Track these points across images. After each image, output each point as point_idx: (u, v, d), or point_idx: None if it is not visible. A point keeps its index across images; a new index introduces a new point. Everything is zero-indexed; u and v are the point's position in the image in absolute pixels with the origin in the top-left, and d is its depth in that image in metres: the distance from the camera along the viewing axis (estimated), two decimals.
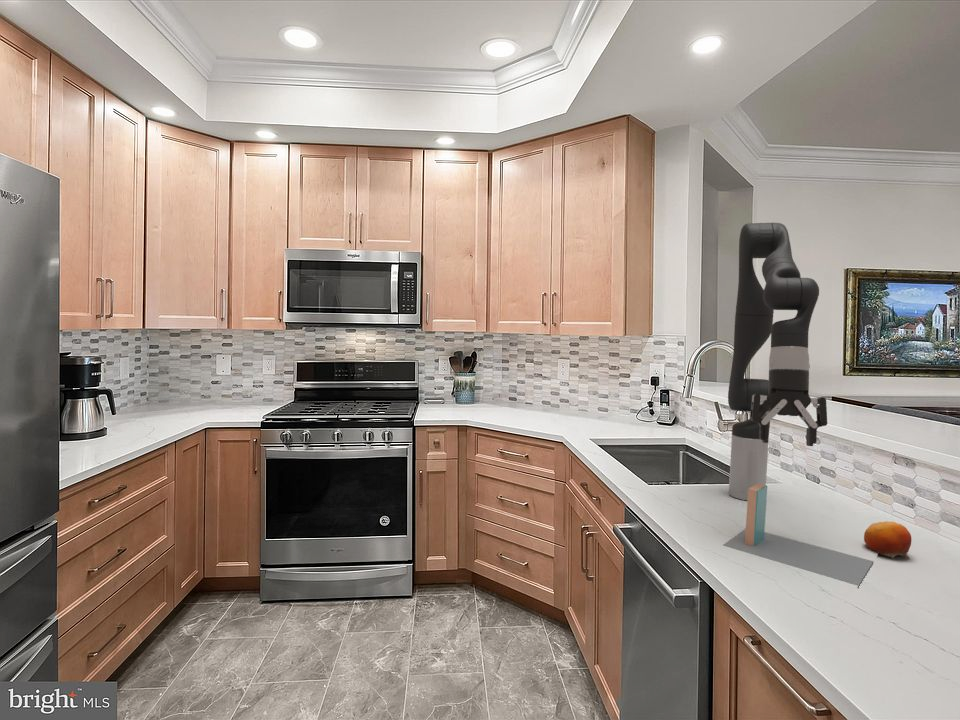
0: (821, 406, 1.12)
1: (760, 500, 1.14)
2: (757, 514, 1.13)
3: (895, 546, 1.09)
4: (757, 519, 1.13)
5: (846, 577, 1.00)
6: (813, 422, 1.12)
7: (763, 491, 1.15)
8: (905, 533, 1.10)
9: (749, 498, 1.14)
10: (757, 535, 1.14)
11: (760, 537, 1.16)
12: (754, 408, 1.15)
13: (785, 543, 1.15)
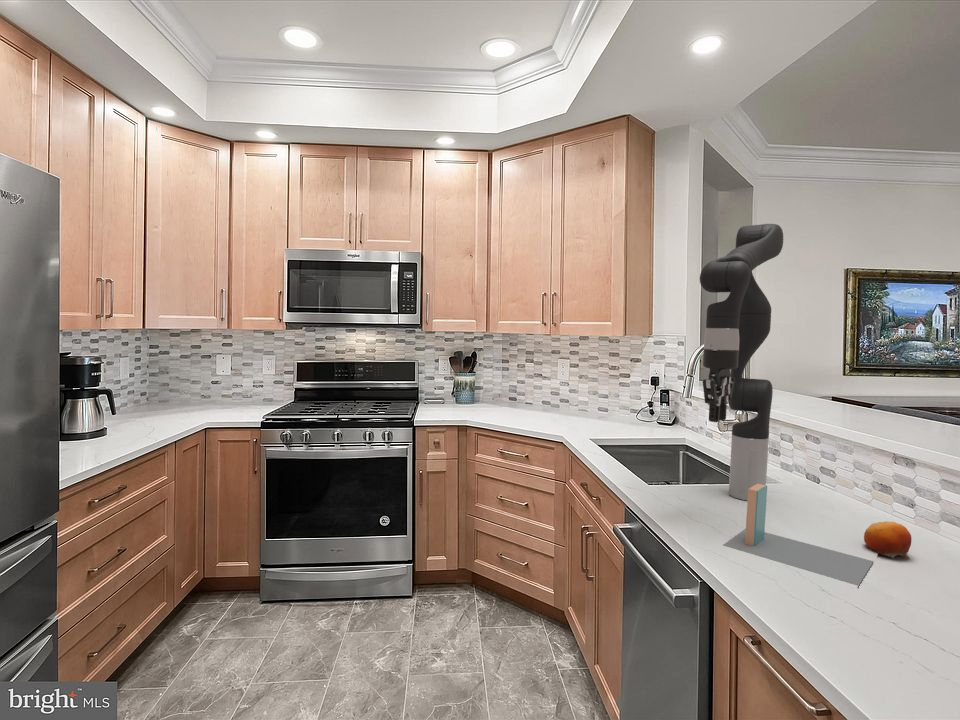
0: (732, 384, 1.28)
1: (760, 500, 1.14)
2: (757, 514, 1.13)
3: (895, 546, 1.09)
4: (757, 519, 1.13)
5: (846, 577, 1.00)
6: (727, 399, 1.26)
7: (763, 491, 1.15)
8: (905, 533, 1.10)
9: (749, 498, 1.14)
10: (757, 535, 1.14)
11: (760, 537, 1.16)
12: (715, 393, 1.20)
13: (785, 543, 1.15)
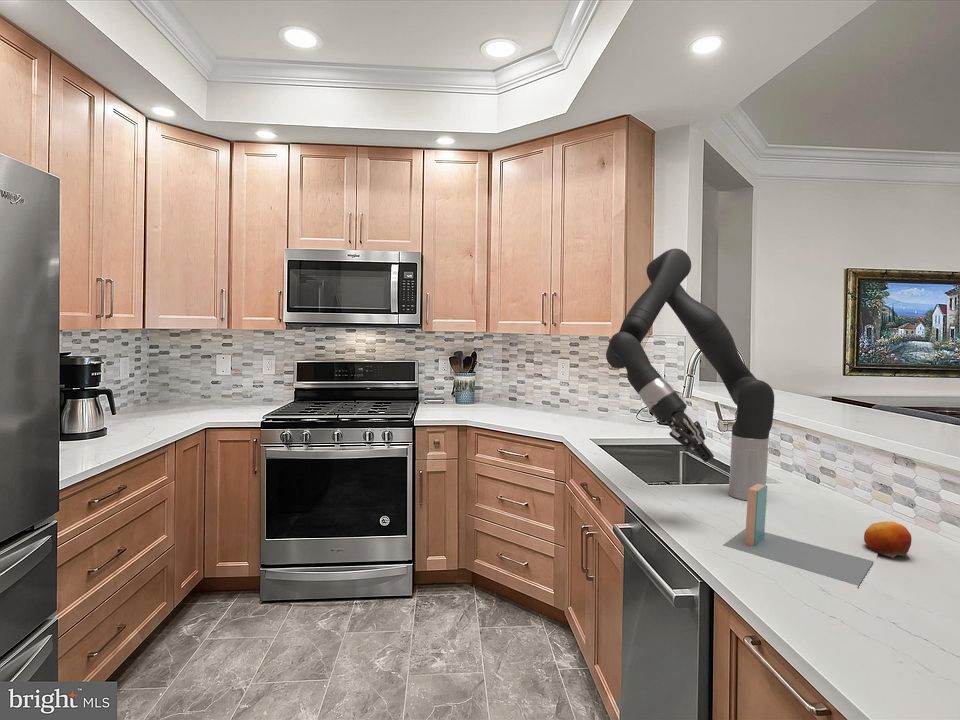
0: (698, 426, 1.29)
1: (760, 500, 1.14)
2: (757, 514, 1.13)
3: (895, 547, 1.09)
4: (757, 519, 1.13)
5: (846, 577, 1.00)
6: (701, 438, 1.25)
7: (763, 491, 1.15)
8: (905, 533, 1.10)
9: (749, 498, 1.14)
10: (757, 535, 1.14)
11: (760, 537, 1.16)
12: (687, 436, 1.22)
13: (785, 543, 1.15)
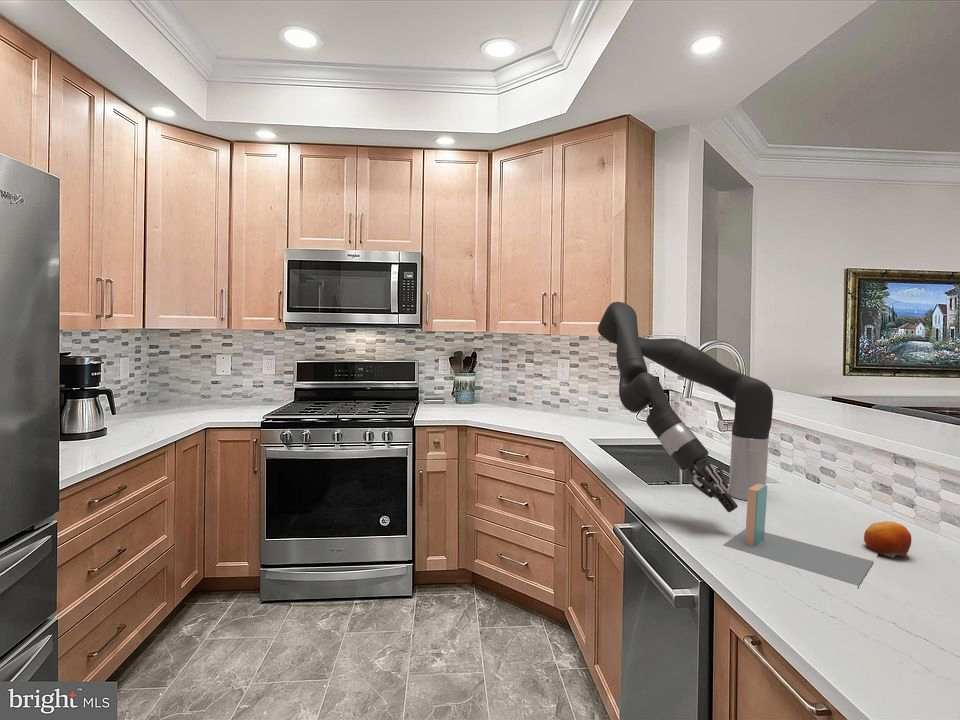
0: (721, 473, 1.25)
1: (760, 500, 1.14)
2: (757, 514, 1.13)
3: (895, 546, 1.09)
4: (757, 519, 1.13)
5: (846, 577, 1.00)
6: (724, 487, 1.21)
7: (763, 491, 1.15)
8: (905, 533, 1.10)
9: (749, 498, 1.14)
10: (757, 535, 1.14)
11: (760, 537, 1.16)
12: (710, 485, 1.18)
13: (785, 543, 1.15)
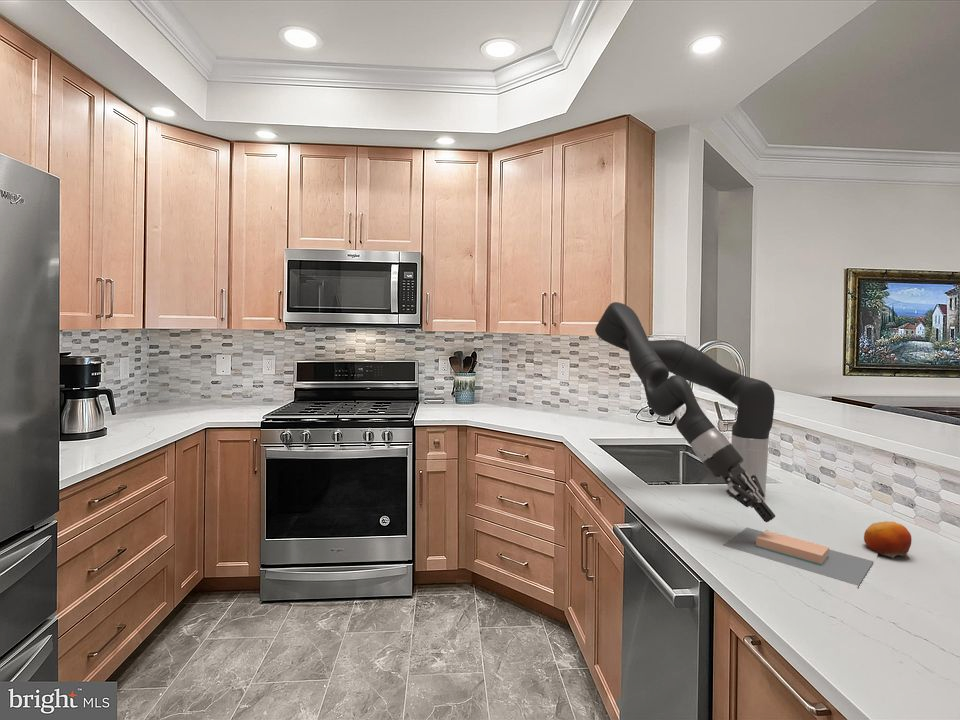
0: (756, 480, 1.20)
1: None
2: None
3: (895, 546, 1.09)
4: None
5: (846, 577, 1.00)
6: (760, 495, 1.16)
7: None
8: (905, 533, 1.10)
9: (810, 554, 1.06)
10: None
11: None
12: (746, 494, 1.13)
13: None
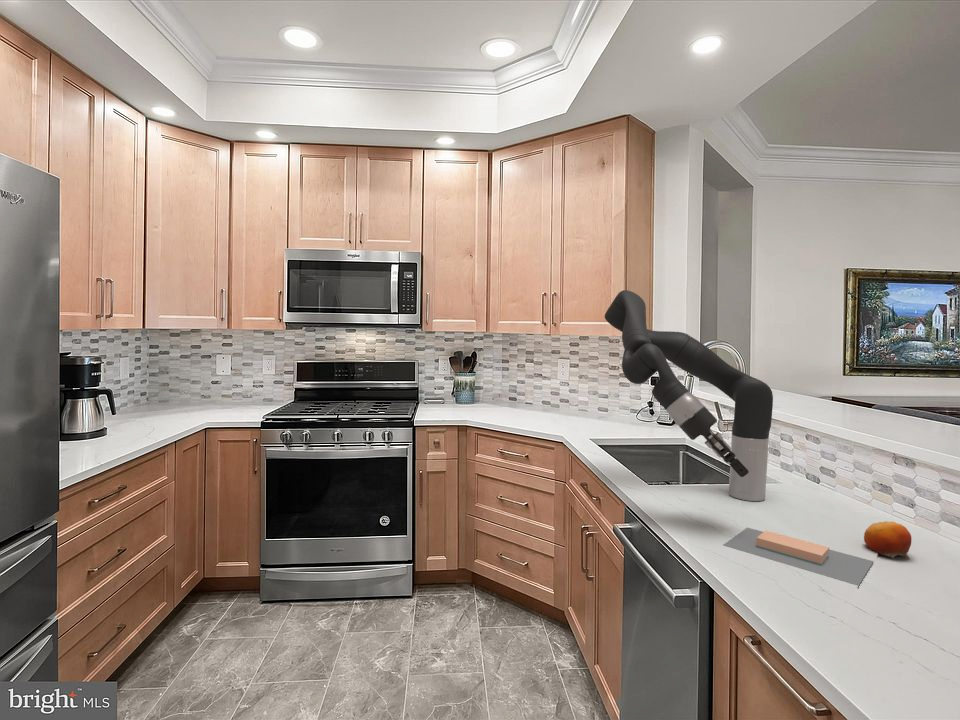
0: None
1: None
2: None
3: (895, 546, 1.09)
4: None
5: (846, 577, 1.00)
6: None
7: None
8: (905, 533, 1.10)
9: (810, 554, 1.06)
10: None
11: None
12: (729, 449, 1.18)
13: None
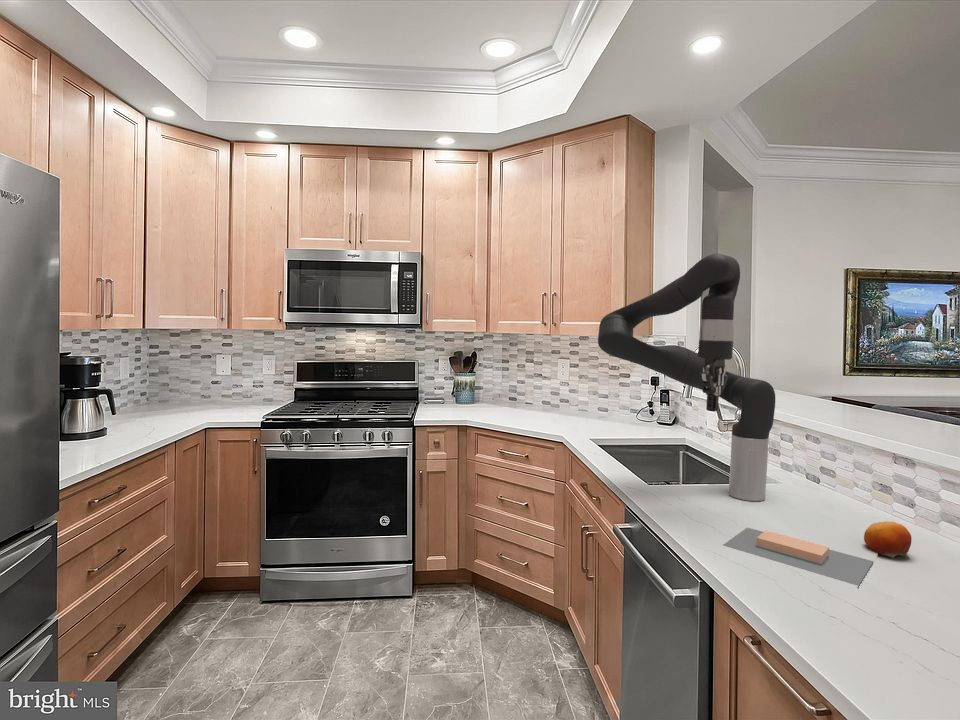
0: None
1: None
2: None
3: (895, 546, 1.09)
4: None
5: (846, 577, 1.00)
6: None
7: None
8: (905, 533, 1.10)
9: (810, 554, 1.06)
10: None
11: None
12: None
13: None
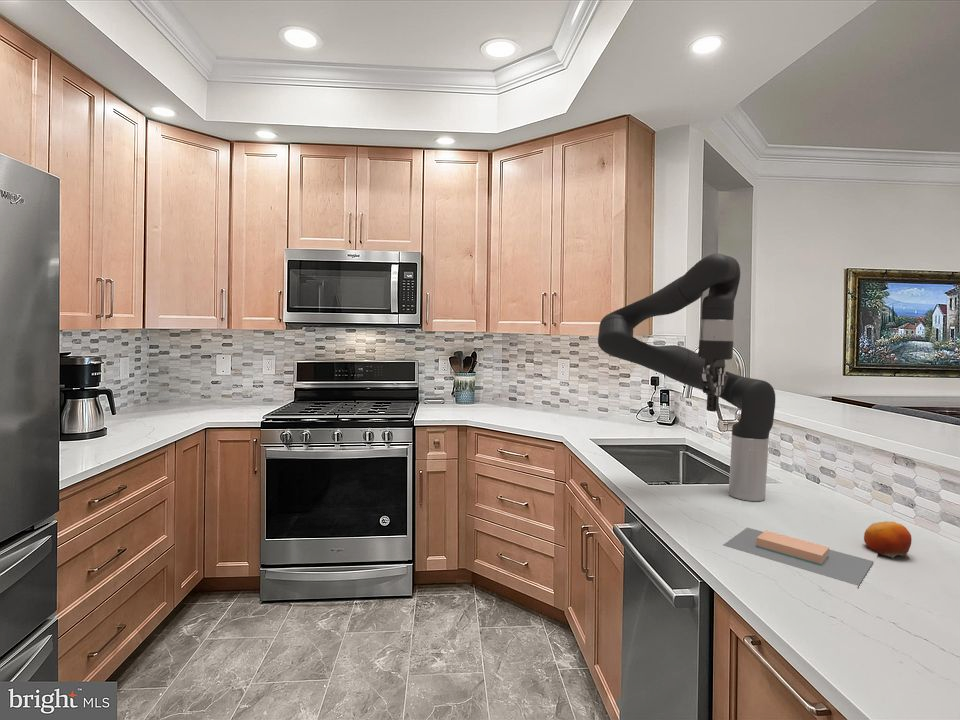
0: None
1: None
2: None
3: (895, 546, 1.09)
4: None
5: (846, 577, 1.00)
6: None
7: None
8: (905, 533, 1.10)
9: (810, 554, 1.06)
10: None
11: None
12: None
13: None
